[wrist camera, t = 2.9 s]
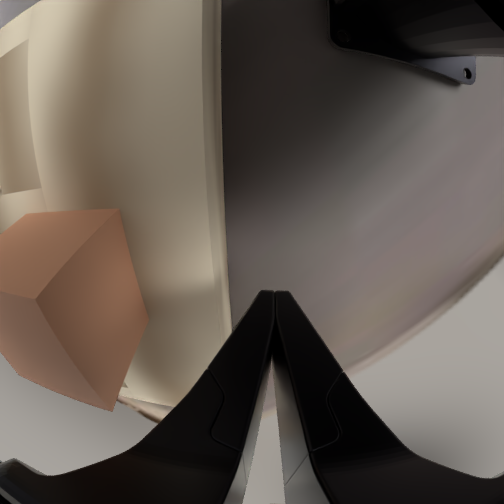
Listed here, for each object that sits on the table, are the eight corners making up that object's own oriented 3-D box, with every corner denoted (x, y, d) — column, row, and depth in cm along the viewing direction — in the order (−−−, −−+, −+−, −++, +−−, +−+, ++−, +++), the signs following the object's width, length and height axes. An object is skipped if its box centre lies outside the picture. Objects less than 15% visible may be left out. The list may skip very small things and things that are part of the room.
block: (119, 208, 8) (35, 299, 4) (149, 319, 11) (112, 411, 7) (26, 214, 8) (-46, 277, 5) (62, 305, 11) (19, 375, 7)
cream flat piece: (222, -25, 6) (205, -58, 4) (235, 376, 18) (231, 413, 15) (-52, 103, 7) (-80, 114, 5) (22, 332, 19) (8, 354, 16)
